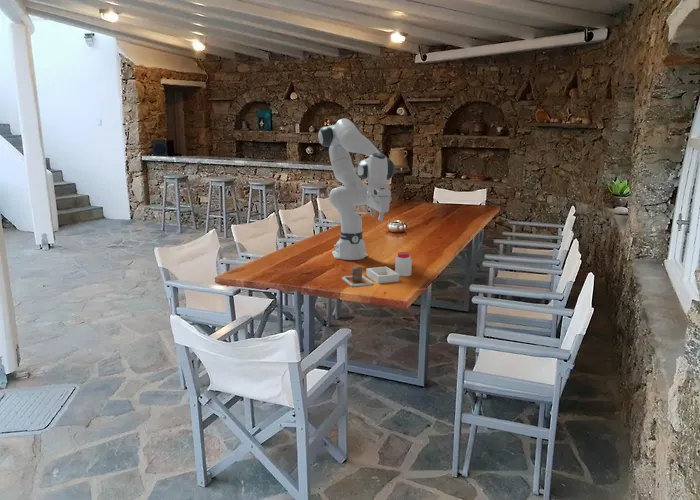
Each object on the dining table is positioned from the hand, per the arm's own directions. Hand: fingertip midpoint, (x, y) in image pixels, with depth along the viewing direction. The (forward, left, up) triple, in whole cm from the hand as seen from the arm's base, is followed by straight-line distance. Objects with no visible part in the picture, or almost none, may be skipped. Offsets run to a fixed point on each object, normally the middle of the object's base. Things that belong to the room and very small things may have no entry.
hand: (376, 218), depth 250 cm
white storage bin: (+8, 0, -27) cm, 29 cm away
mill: (+9, -13, -27) cm, 31 cm away
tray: (+9, -13, -27) cm, 32 cm away
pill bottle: (+5, +12, -28) cm, 31 cm away
